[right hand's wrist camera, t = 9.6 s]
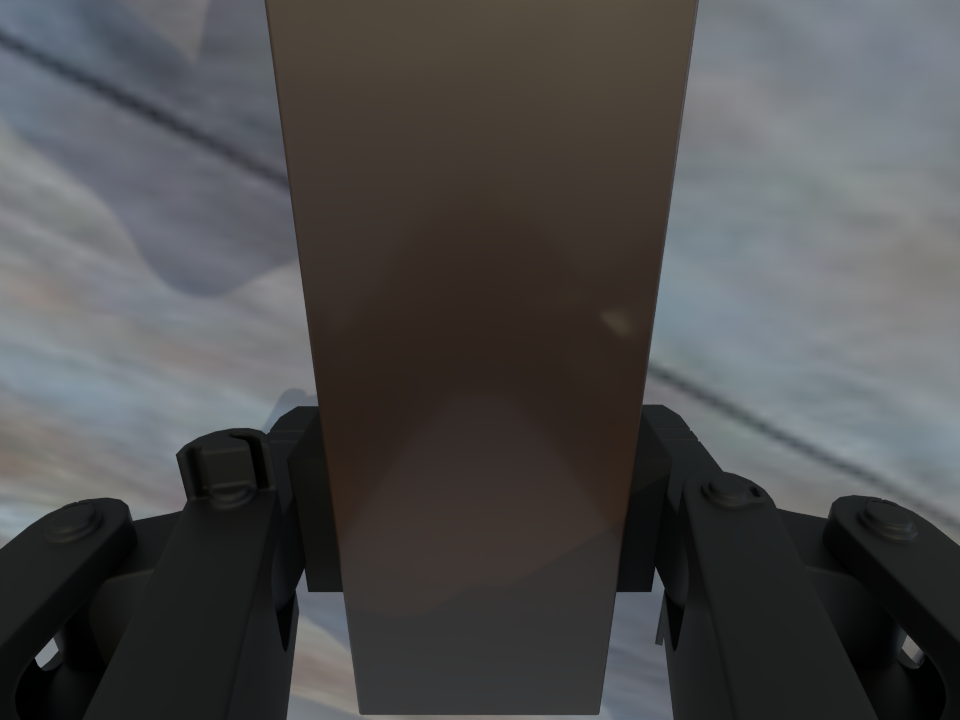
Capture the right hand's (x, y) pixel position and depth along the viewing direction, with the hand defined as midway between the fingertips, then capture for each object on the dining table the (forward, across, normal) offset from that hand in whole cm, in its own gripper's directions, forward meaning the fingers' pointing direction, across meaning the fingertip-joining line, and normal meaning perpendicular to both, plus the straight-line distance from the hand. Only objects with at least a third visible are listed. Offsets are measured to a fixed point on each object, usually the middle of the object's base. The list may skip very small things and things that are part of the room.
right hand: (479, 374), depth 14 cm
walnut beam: (0, 0, -11) cm, 11 cm away
